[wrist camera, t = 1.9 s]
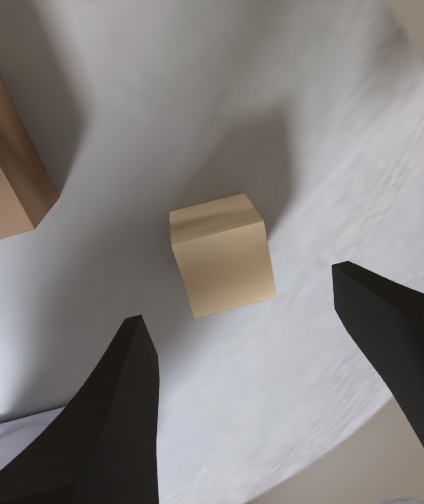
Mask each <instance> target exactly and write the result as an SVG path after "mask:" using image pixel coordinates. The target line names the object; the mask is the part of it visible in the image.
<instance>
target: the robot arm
mask: <svg viewBox="0 0 424 504" xmlns="http://www.w3.org/2000/svg"><path fill="white" fill-rule="evenodd" d="M332 277H333V292H334V306H335V310H336V312H337V314H338V316H339V318H340V320H341V321H342V323H343V325H344V327H345V328H346V330H347V332H348V333H349V335H350V336H351V337H352V339H353V340H354V341H355V343H356V344H357V345H358V347H359V348H360V350H361V351H362V352H363V354H364V355H365V356H366V358H367V359H368V360H369V362H370V363H371V364H372V366H373V367H374V368H375V370H376V371H377V372H378V374H379V375H380V376H381V378H382V379H383V380H384V382H385V383H386V385H387V386H388V388H389V389H390V391H391V392H392V394H393V396H394V397H395V399H396V400H397V402H398V404H399V406H400V407H401V409H402V411H403V412H404V414H405V415H406V417H407V419H408V421H409V423H410V424H411V426H412V428H413V430H414V431H415V433H416V435H417V436H418V438H419V440H420V442H421V443H422V445H423V447H424V293H421V292H418V291H416V290H413V289H410V288H408V287H405V286H403V285H401V284H398V283H396V282H394V281H391V280H389V279H387V278H385V277H382V276H380V275H378V274H376V273H374V272H372V271H369V270H367V269H365V268H363V267H361V266H359V265H356V264H354V263H352V262H349V261H345V262H341V263H338V264H334V265H332ZM158 402H159V366H158V355H157V352H156V350H155V347H154V345H153V342H152V340H151V338H150V335H149V333H148V330H147V328H146V325H145V323H144V320H143V318H142V315H138V316H134V317H130V318H126V319H125V320H124V321H123V323H122V325H121V326H120V328H119V330H118V331H117V333H116V335H115V337H114V338H113V340H112V342H111V343H110V345H109V347H108V348H107V350H106V352H105V353H104V355H103V356H102V358H101V360H100V361H99V363H98V364H97V366H96V367H95V369H94V370H93V372H92V373H91V375H90V376H89V377H88V379H87V380H86V382H85V383H84V385H83V386H82V387H81V388H80V390H79V391H78V392H77V394H76V395H75V396H74V397H73V398H72V400H71V401H70V402H69V403H68V405H67V406H66V407H62V408H58V409H54V410H51V411H47V412H43V413H39V414H36V415H32V416H28V417H24V418H20V419H17V420H13V421H9V422H5V423H2V424H0V504H159V495H158V478H157V457H156V438H157V420H158ZM374 504H424V501H421V500H418V499H414V498H411V497H406V498H398V499H390V500H385V501H382V502H378V503H374Z"/></svg>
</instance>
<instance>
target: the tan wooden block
mask: <svg viewBox="0 0 424 504" xmlns="http://www.w3.org/2000/svg"><path fill="white" fill-rule="evenodd" d="M58 199H59V196H58V194H57V192H56V190H55V188H54V186H53V184H52V182H51V180H50V178H49V176H48V174H47V172H46V170H45V168H44V166H43V164H42V162H41V160H40V158H39V156H38V154H37V152H36V150H35V148H34V145H33V143H32V141H31V139H30V137H29V135H28V133H27V131H26V129H25V127H24V125H23V123H22V121H21V119H20V117H19V115H18V113H17V111H16V109H15V107H14V105H13V103H12V101H11V99H10V97H9V95H8V93H7V91H6V89H5V87H4V85H3V83H2V81H1V79H0V239H2V238H6V237H9V236H13V235H16V234H19V233H23V232H26V231H30V230H33V229H35V228H36V227H37V225H38V224H39V223H40V222H41V220H42V219H43V218H44V217H45V215H46V214H47V213H48V211H49V210H50V209H51V208H52V206H53V205H54V204H55V203H56V201H57V200H58Z"/></svg>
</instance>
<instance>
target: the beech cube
mask: <svg viewBox="0 0 424 504" xmlns="http://www.w3.org/2000/svg"><path fill="white" fill-rule="evenodd" d="M169 218H170V235H171V246H172V250H173V253H174V256H175V259H176V262H177V265H178V269H179V272H180V275H181V278H182V281H183V285H184V288H185V291H186V294H187V297H188V300H189V304H190V307H191V310H192V313H193V316H194V319H195V318H199V317H203V316H207V315H211V314H215V313H218V312H222V311H226V310H230V309H234V308H237V307H241V306H245V305H249V304H253V303H257V302H260V301H264V300H268V299H272V298H276V297H277V296H276V290H275V284H274V278H273V272H272V266H271V260H270V254H269V248H268V242H267V236H266V230H265V224H264V220H263V219H262V217H261V216H260V214H259V213H258V211H257V210H256V208H255V207H254V206H253V204H252V203H251V201H250V200H249V198H248V197H247V195H246V194H245V192H244V193H240V194H236V195H232V196H228V197H225V198H221V199H217V200H213V201H209V202H205V203H201V204H198V205H194V206H190V207H186V208H182V209H178V210H174V211H171V212H169Z"/></svg>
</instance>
